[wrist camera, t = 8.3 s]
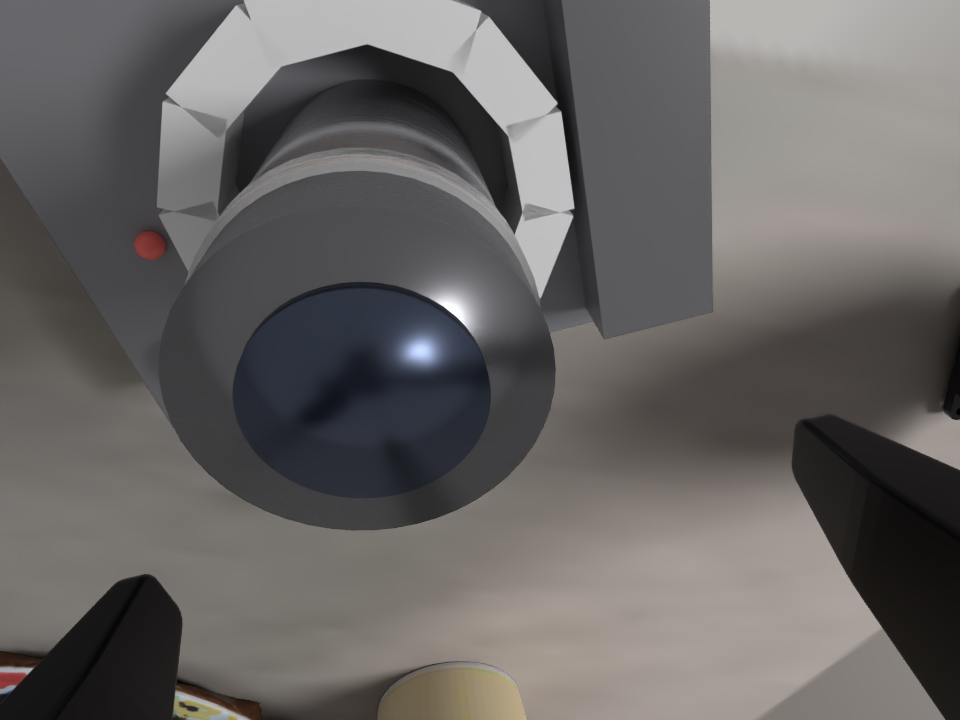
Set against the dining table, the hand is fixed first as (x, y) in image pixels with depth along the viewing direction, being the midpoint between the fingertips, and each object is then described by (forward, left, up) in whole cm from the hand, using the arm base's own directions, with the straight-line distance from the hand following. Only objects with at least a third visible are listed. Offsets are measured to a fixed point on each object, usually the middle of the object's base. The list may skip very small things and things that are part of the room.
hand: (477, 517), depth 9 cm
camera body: (+1, -2, -13) cm, 13 cm away
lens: (+1, -2, -10) cm, 10 cm away
